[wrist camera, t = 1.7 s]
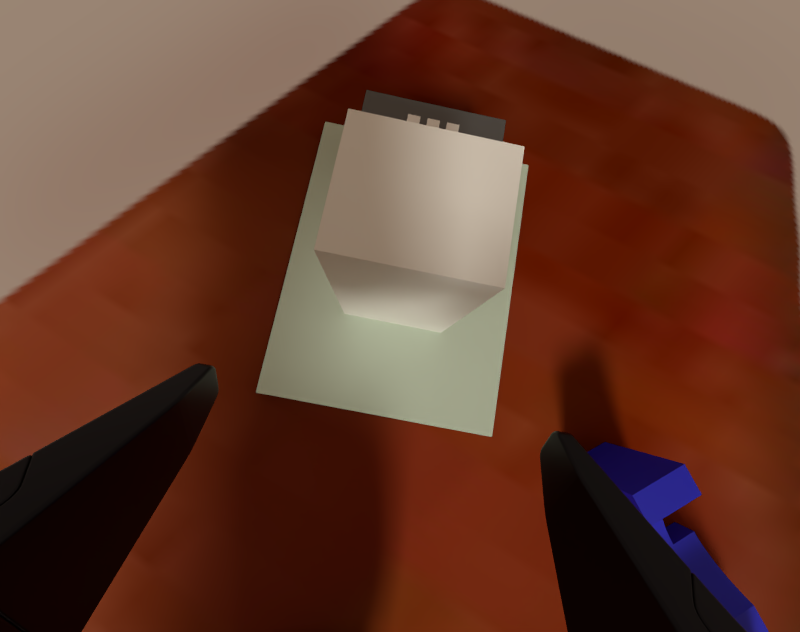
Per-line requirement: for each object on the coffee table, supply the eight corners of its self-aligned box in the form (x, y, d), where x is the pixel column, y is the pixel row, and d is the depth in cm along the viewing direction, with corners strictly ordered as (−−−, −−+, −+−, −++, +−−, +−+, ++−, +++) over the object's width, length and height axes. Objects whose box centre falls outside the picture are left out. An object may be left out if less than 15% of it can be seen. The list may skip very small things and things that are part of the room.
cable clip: (725, 617, 21) (860, 709, 15) (666, 659, 21) (782, 771, 15) (622, 430, 23) (709, 448, 17) (564, 464, 22) (632, 495, 16)
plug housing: (440, 332, 22) (504, 288, 11) (344, 313, 22) (313, 249, 11) (453, 256, 23) (524, 146, 12) (361, 237, 23) (348, 108, 12)
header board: (486, 434, 22) (519, 450, 17) (261, 391, 22) (226, 395, 17) (522, 173, 25) (558, 122, 20) (327, 131, 25) (315, 69, 20)
